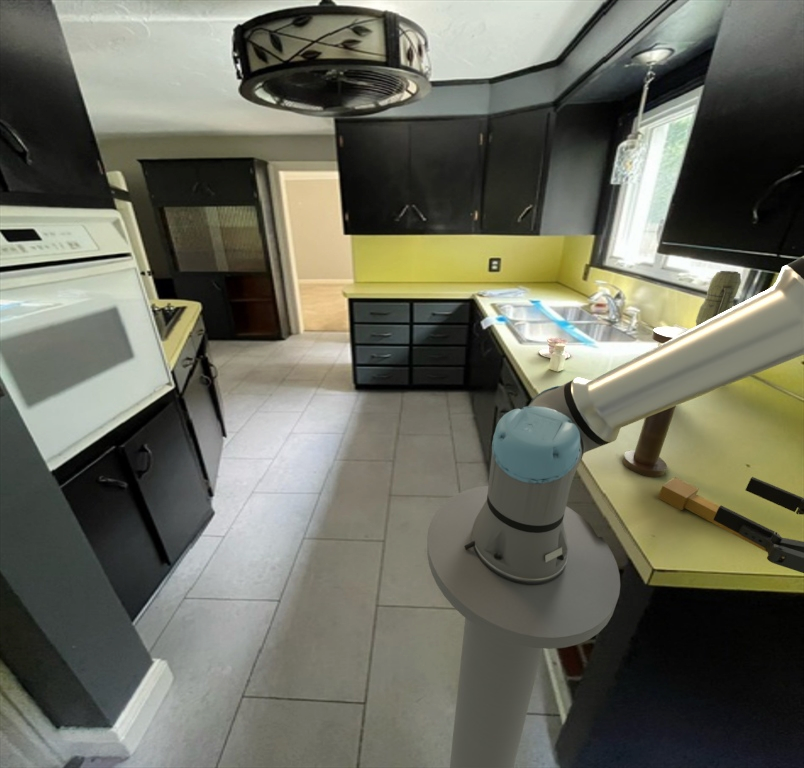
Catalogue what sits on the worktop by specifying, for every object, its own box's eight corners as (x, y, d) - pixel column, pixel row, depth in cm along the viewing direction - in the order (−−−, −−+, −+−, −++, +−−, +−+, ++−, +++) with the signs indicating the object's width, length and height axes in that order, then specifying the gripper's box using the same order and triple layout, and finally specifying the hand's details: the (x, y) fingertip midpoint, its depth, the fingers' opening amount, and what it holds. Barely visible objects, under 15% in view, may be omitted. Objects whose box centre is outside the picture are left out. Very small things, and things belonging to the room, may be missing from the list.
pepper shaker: (553, 366, 137) (558, 342, 133) (563, 369, 134) (568, 345, 130) (548, 369, 134) (552, 344, 131) (557, 372, 132) (562, 347, 128)
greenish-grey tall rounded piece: (702, 366, 137) (736, 270, 123) (716, 377, 127) (754, 274, 113) (675, 363, 140) (705, 269, 126) (686, 374, 130) (720, 273, 116)
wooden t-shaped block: (786, 568, 56) (795, 554, 55) (658, 498, 70) (662, 485, 69) (797, 554, 58) (805, 540, 57) (670, 489, 73) (675, 477, 72)
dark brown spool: (634, 480, 75) (677, 341, 63) (608, 452, 85) (642, 326, 73) (681, 480, 75) (734, 341, 63) (651, 452, 85) (692, 326, 73)
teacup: (576, 358, 146) (579, 343, 143) (550, 360, 143) (553, 345, 140) (557, 349, 156) (559, 335, 154) (533, 351, 154) (535, 337, 151)
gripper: (912, 673, 41) (693, 544, 57) (939, 570, 53) (752, 489, 69) (953, 630, 38) (709, 507, 54) (971, 531, 50) (768, 456, 66)
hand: (733, 497), depth 62 cm, fingers open, 13 cm apart
